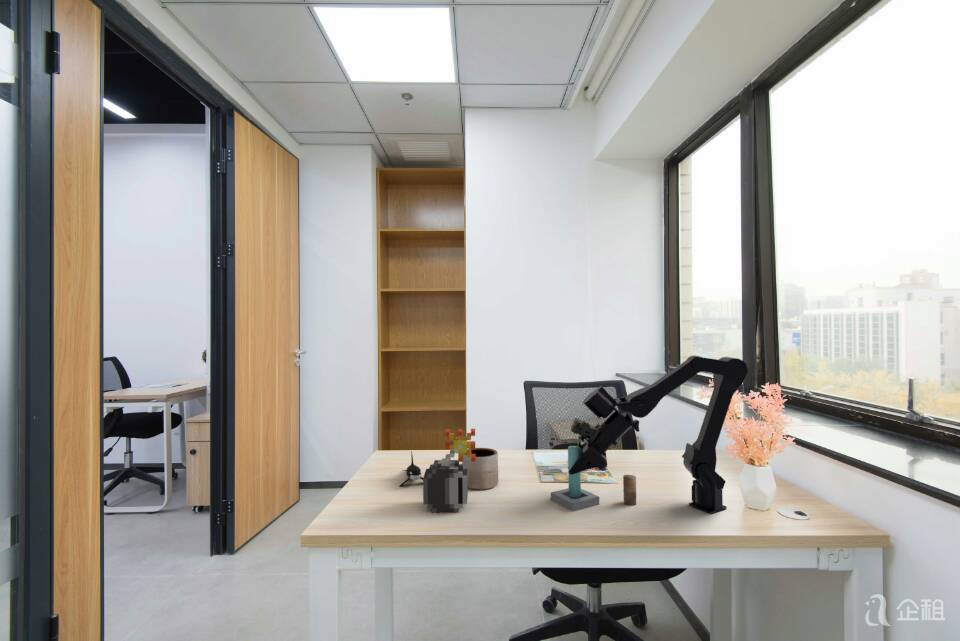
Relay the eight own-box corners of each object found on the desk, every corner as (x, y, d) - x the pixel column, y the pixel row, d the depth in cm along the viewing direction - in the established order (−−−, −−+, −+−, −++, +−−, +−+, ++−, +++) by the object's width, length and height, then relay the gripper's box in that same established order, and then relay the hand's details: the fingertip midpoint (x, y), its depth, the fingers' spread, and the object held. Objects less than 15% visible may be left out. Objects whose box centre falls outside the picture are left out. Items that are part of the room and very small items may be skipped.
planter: (489, 493, 130) (489, 459, 130) (455, 487, 134) (455, 455, 134) (503, 481, 140) (503, 449, 140) (471, 476, 144) (471, 446, 144)
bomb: (426, 501, 124) (425, 427, 124) (475, 500, 124) (475, 426, 124) (423, 513, 116) (422, 434, 116) (475, 512, 116) (475, 433, 116)
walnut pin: (639, 504, 120) (638, 477, 121) (630, 506, 119) (629, 479, 119) (629, 500, 123) (629, 474, 123) (621, 502, 122) (620, 476, 122)
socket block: (599, 504, 121) (599, 496, 121) (572, 511, 116) (572, 503, 116) (576, 493, 128) (576, 486, 128) (550, 499, 124) (550, 492, 124)
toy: (434, 485, 133) (432, 449, 136) (400, 489, 131) (399, 452, 133) (423, 480, 153) (421, 449, 155) (393, 483, 150) (392, 451, 153)
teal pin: (583, 496, 122) (582, 447, 123) (576, 499, 120) (575, 449, 120) (573, 493, 125) (572, 445, 125) (566, 496, 122) (565, 447, 122)
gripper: (585, 403, 131) (547, 440, 133) (592, 415, 113) (547, 459, 114) (614, 430, 130) (575, 468, 132) (626, 448, 112) (580, 492, 113)
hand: (569, 471), depth 123 cm, fingers closed on teal pin, 3 cm apart
